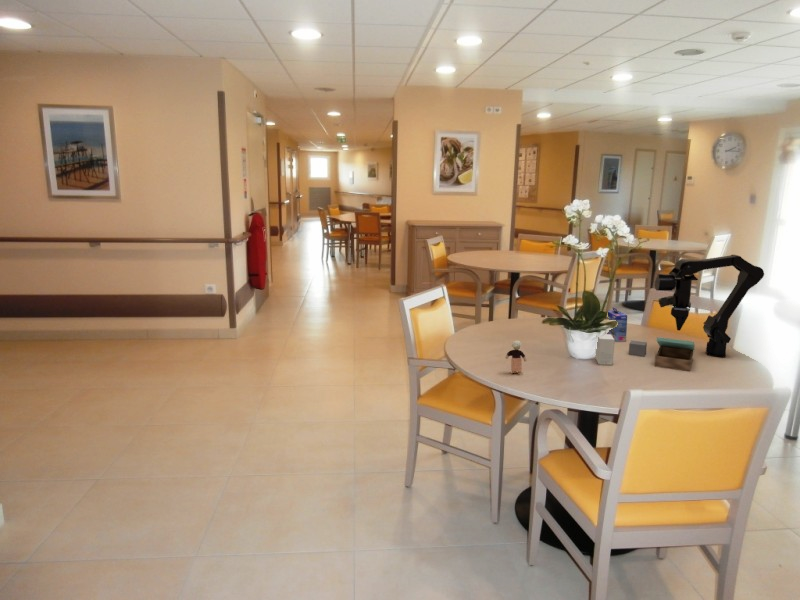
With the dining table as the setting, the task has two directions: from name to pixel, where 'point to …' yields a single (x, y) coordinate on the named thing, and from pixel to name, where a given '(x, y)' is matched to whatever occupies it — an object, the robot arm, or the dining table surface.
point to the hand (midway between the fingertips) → (679, 328)
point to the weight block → (637, 348)
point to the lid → (676, 343)
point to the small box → (605, 350)
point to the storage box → (674, 358)
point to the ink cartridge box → (621, 328)
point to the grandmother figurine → (516, 357)
